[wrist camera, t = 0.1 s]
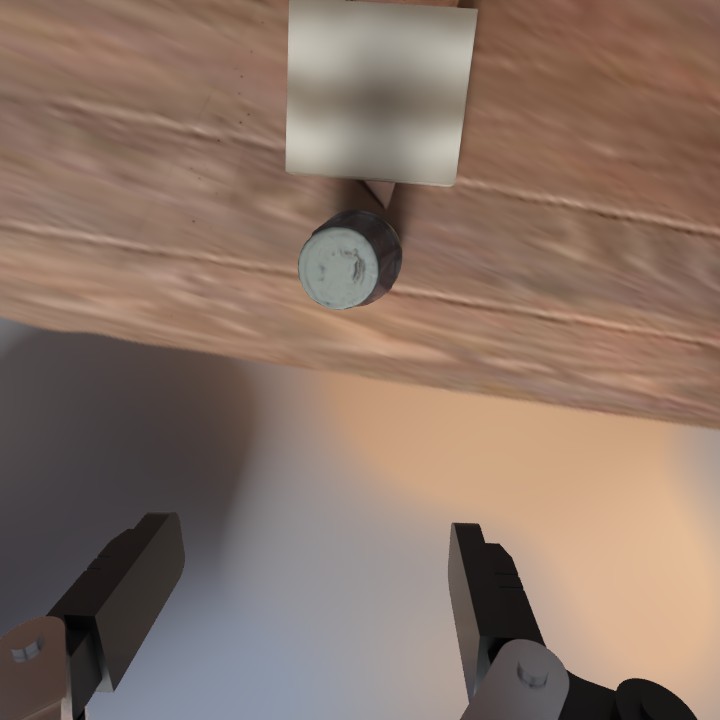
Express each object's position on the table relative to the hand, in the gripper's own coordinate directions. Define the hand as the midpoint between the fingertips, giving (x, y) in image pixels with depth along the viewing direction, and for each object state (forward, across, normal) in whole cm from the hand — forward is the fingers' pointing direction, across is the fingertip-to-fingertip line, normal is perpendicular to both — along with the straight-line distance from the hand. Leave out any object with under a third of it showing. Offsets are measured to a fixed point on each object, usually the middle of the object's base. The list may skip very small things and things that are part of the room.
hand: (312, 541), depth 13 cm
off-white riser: (+31, -1, -18) cm, 36 cm away
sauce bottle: (+31, 0, -6) cm, 31 cm away
